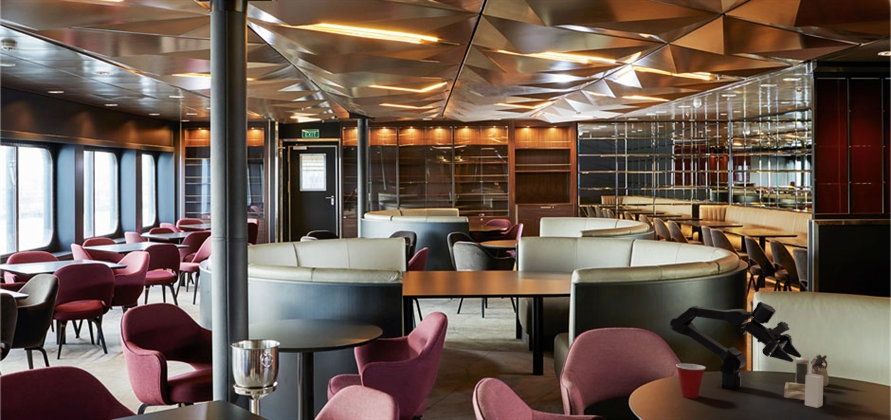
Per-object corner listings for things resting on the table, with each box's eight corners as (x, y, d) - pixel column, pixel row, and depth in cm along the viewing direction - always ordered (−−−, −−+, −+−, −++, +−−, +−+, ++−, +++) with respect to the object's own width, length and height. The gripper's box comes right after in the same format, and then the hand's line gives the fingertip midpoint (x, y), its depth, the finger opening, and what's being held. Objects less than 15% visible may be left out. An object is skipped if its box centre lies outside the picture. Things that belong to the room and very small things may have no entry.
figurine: (810, 380, 313) (811, 351, 312) (830, 383, 309) (830, 354, 308) (807, 384, 307) (808, 354, 307) (826, 387, 303) (827, 357, 303)
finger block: (804, 405, 279) (805, 375, 279) (809, 402, 282) (810, 373, 282) (817, 407, 276) (818, 377, 276) (822, 405, 279) (823, 375, 279)
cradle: (784, 397, 289) (784, 368, 289) (787, 383, 309) (788, 356, 308) (814, 401, 284) (815, 371, 284) (816, 386, 304) (817, 359, 304)
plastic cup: (706, 394, 292) (707, 363, 292) (703, 402, 282) (704, 369, 282) (677, 390, 297) (677, 360, 296) (673, 398, 287) (673, 366, 286)
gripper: (763, 319, 284) (801, 346, 276) (780, 313, 298) (816, 338, 290) (747, 342, 288) (784, 369, 280) (764, 335, 302) (799, 360, 294)
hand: (796, 359), depth 286 cm, fingers open, 9 cm apart
